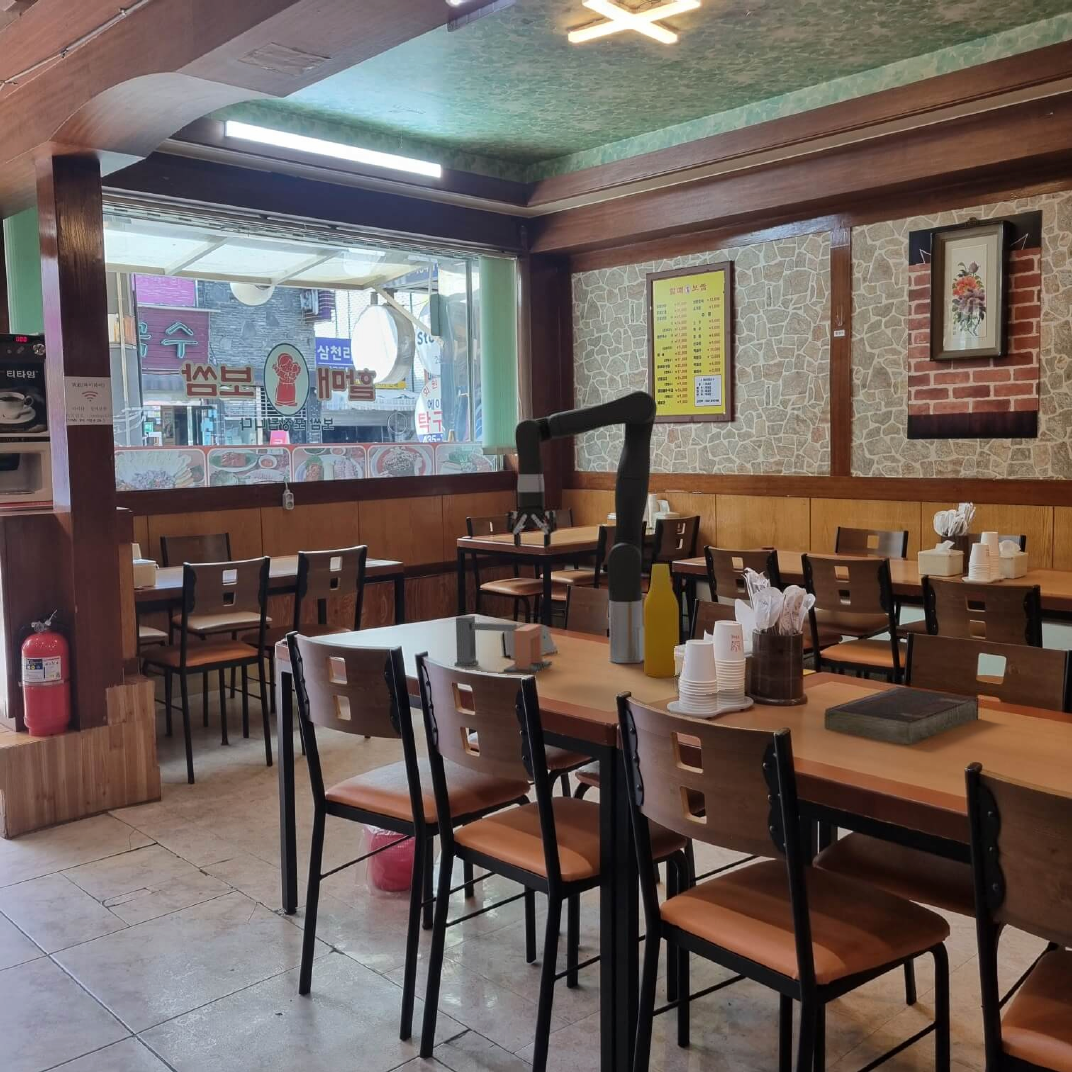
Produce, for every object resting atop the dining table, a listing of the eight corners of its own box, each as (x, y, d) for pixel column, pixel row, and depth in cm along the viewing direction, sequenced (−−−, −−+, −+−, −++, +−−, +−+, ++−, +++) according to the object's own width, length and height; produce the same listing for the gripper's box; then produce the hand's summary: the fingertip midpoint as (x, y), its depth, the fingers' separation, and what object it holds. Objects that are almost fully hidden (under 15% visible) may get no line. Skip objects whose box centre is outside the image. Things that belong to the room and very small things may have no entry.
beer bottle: (678, 678, 268) (677, 566, 266) (642, 677, 270) (640, 566, 267) (680, 671, 277) (679, 562, 275) (646, 670, 279) (644, 562, 276)
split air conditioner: (511, 659, 299) (503, 625, 301) (502, 662, 303) (495, 628, 305) (558, 651, 309) (551, 619, 311) (549, 655, 313) (542, 622, 315)
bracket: (519, 665, 290) (518, 617, 289) (513, 668, 285) (511, 619, 284) (462, 662, 296) (460, 615, 295) (454, 665, 291) (453, 617, 290)
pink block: (542, 662, 291) (541, 624, 290) (528, 669, 280) (527, 631, 280) (529, 661, 292) (528, 624, 291) (514, 668, 282) (513, 630, 281)
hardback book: (896, 706, 235) (896, 684, 235) (978, 720, 221) (978, 697, 221) (824, 730, 216) (824, 707, 216) (909, 748, 202) (909, 722, 202)
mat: (552, 663, 291) (552, 661, 291) (534, 673, 278) (534, 671, 278) (522, 662, 294) (522, 660, 294) (503, 671, 281) (503, 669, 281)
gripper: (559, 489, 296) (560, 546, 297) (512, 490, 301) (513, 546, 302) (550, 490, 289) (551, 548, 290) (502, 491, 294) (504, 548, 295)
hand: (532, 547), depth 296 cm, fingers open, 8 cm apart
